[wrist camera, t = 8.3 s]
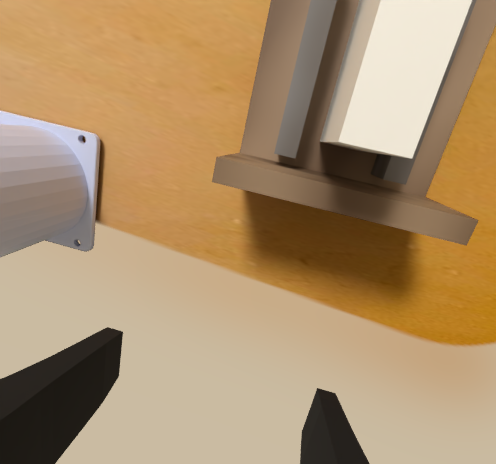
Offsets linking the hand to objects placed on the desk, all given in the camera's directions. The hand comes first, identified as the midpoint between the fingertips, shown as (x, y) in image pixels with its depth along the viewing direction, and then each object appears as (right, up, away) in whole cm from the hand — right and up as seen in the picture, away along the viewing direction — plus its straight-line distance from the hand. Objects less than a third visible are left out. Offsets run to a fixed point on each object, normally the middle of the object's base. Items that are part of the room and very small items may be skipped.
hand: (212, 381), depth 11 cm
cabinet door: (+7, +13, +4) cm, 15 cm away
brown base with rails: (+7, +13, +5) cm, 16 cm away
